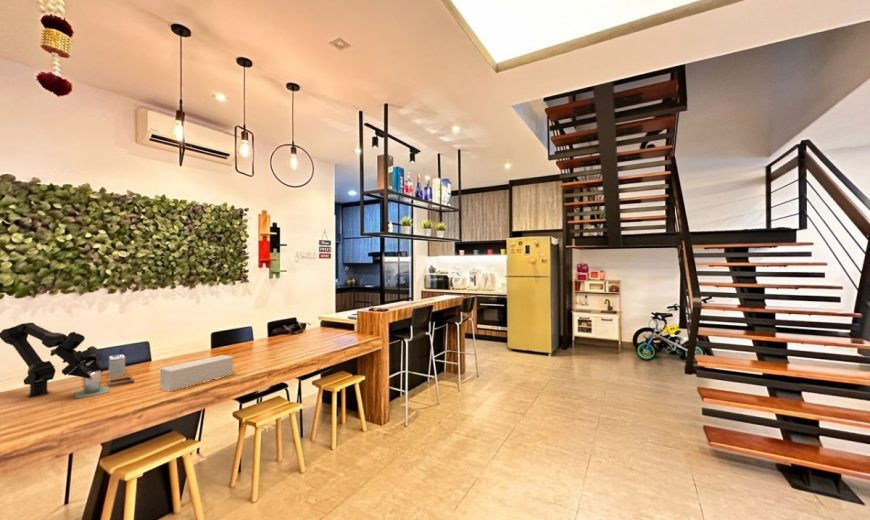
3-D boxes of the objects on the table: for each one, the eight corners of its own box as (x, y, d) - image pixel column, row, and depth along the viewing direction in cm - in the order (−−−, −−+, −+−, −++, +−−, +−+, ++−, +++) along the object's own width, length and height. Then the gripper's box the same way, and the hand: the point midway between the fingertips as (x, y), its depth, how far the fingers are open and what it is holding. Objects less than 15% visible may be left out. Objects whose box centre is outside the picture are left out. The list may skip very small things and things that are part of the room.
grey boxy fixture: (108, 374, 206) (108, 356, 206) (123, 371, 211) (123, 354, 211) (109, 378, 199) (110, 359, 199) (125, 375, 204) (125, 357, 204)
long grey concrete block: (222, 372, 209) (223, 354, 210) (232, 375, 204) (233, 357, 204) (160, 388, 182) (160, 368, 182) (169, 392, 176) (170, 371, 177)
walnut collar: (107, 383, 189) (107, 380, 189) (131, 378, 197) (131, 376, 197) (109, 387, 183) (109, 384, 183) (133, 382, 190) (134, 380, 190)
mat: (74, 393, 175) (75, 392, 175) (107, 386, 184) (107, 386, 184) (75, 399, 167) (75, 398, 167) (109, 392, 175) (109, 391, 175)
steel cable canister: (87, 390, 177) (88, 371, 177) (102, 389, 179) (103, 369, 179) (81, 394, 171) (81, 374, 172) (96, 393, 174) (96, 373, 174)
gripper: (70, 346, 166) (98, 367, 169) (95, 338, 183) (120, 358, 186) (48, 364, 163) (77, 385, 166) (76, 354, 181) (102, 374, 184)
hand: (95, 374), depth 176 cm, fingers open, 9 cm apart
